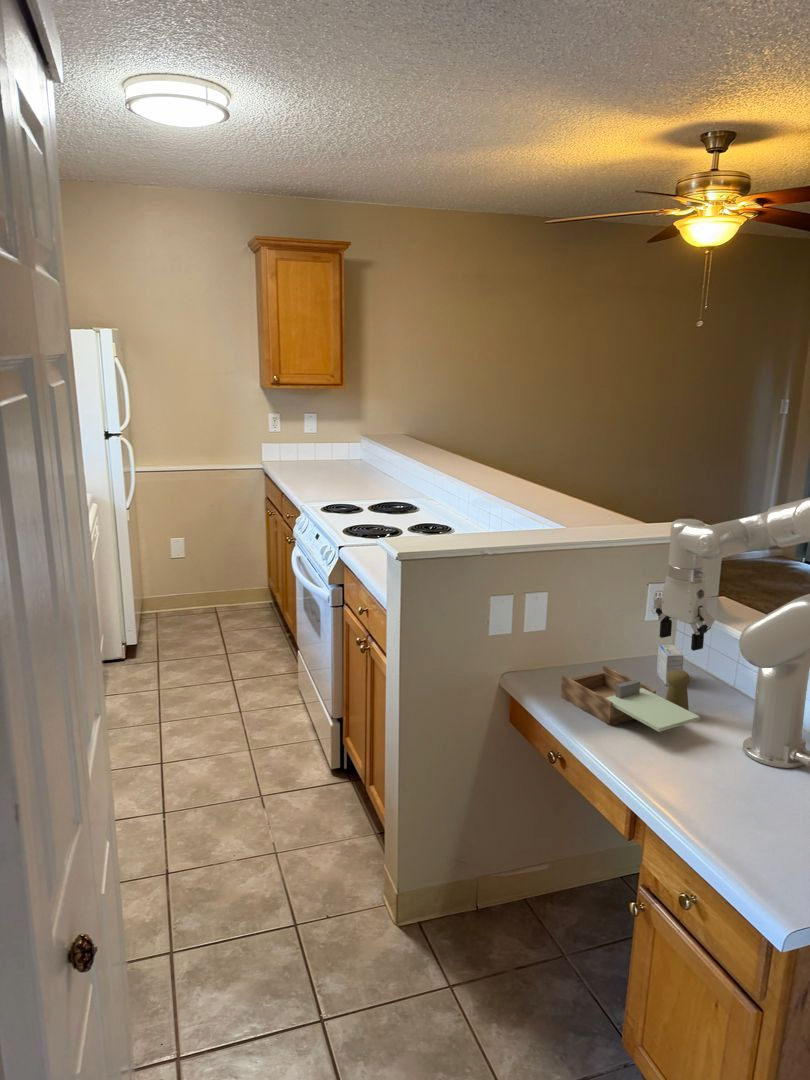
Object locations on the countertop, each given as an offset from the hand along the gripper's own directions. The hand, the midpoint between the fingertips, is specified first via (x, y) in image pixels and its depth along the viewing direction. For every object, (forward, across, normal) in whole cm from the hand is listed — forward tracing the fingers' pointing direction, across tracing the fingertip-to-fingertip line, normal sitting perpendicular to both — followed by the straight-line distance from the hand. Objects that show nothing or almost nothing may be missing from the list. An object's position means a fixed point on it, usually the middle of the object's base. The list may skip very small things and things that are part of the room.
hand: (680, 642), depth 178 cm
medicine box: (+18, +16, -14) cm, 28 cm away
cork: (+18, 0, 0) cm, 19 cm away
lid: (+14, -2, +11) cm, 18 cm away
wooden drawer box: (+18, +12, +11) cm, 24 cm away
